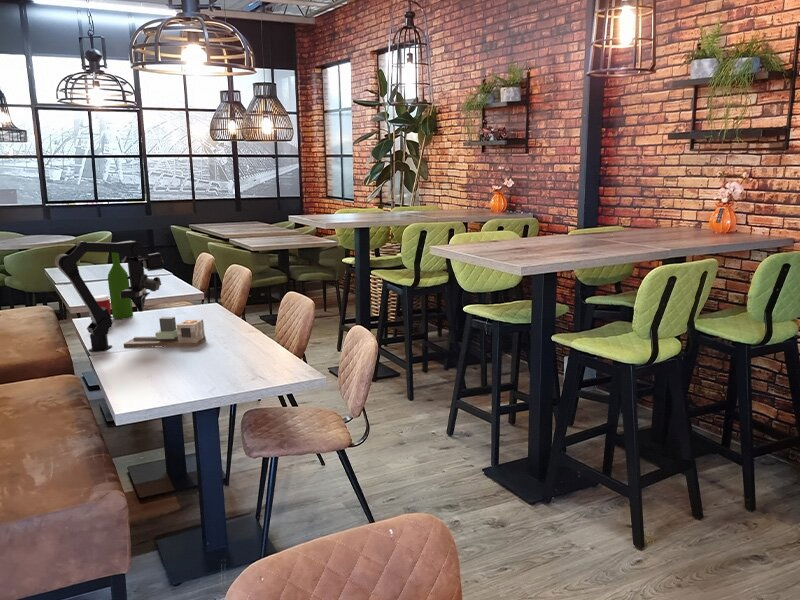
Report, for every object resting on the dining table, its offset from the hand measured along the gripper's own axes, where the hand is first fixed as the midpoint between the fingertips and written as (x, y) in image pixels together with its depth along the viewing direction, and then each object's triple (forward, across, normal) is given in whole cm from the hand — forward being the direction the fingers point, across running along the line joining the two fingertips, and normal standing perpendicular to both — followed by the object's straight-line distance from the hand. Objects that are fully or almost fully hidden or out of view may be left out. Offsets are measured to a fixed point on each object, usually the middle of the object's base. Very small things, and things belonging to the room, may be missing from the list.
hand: (141, 311), depth 268 cm
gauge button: (+8, -5, -22) cm, 24 cm away
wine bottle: (+12, +43, +32) cm, 55 cm away
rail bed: (+12, -5, -11) cm, 17 cm away
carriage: (+9, -5, -13) cm, 17 cm away
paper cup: (+12, +23, +30) cm, 40 cm away
